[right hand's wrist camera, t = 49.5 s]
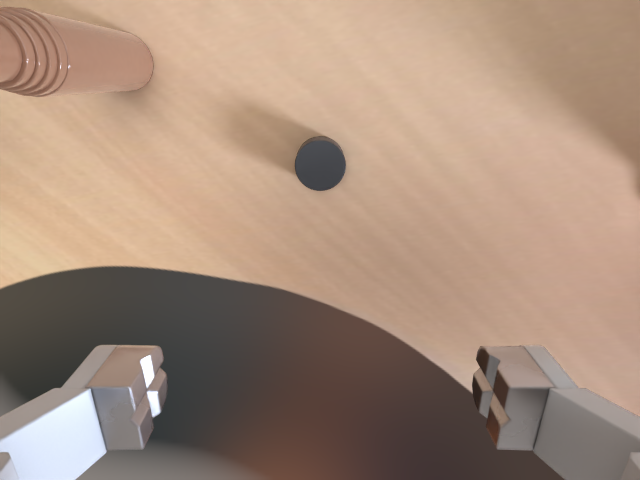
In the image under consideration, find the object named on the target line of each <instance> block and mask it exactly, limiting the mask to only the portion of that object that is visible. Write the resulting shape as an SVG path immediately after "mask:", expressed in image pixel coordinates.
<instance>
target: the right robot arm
mask: <svg viewBox="0 0 640 480" xmlns="http://www.w3.org/2000/svg"><path fill="white" fill-rule="evenodd" d="M163 360H164V358H163V353H162V349H161V348H160V347H159V346H137V345H120V346H119V345H100V346H97V347H95V348H94V350H93V351H92V352H91V353H90V354H89V356H88V357H87V358H86V359H85V360H84V361H83V363H82V364H81V365H80V366H79V367H78V369H77V370H76V371H75V372H74V373H73V374H72V376H71V377H70V378H69V379H68V380H67V382H66V383H65V384H64V385H63V386H62V387H61V388H54V389H52V390H50V391H48V392H46V393H45V394H43V395H41V396H39V397H37V398H35V399H33V400H31V401H29V402H28V403H26V404H24V405H22V406H20V407H18V408H16V409H14V410H12V411H10V412H9V413H7V414H5V415H3V416H1V417H0V480H75V479H76V478H78V477H79V476H80V475H81V474H82V473H83V472H84V471H86V470H87V469H88V468H89V467H90V466H91V465H93V464H94V463H95V462H96V461H97V460H98V459H99V458H101V457H102V456H103V455H104V454H105V453H106V450H134V449H143V448H144V446H145V444H146V442H147V440H148V438H149V436H150V434H151V432H152V430H153V428H154V424H153V418H154V417H155V416H156V415H158V414H159V413H161V411H162V409H163V406H164V404H165V401H166V396H167V391H168V382H167V375H166V373H165V372H164V371H163V370H162V369H161V368H160V366H161V364H162V362H163ZM476 360H477V362H478V364H479V366H480V368H479V369H478V370H477V371H476V372H475V373H474V375H473V383H472V388H473V397H474V401H475V404H476V407H477V409H478V411H479V413H481V414H482V415H483V416H485V417H486V418H487V424H486V428H487V430H488V432H489V434H490V436H491V438H492V440H493V442H494V444H495V446H496V448H497V449H505V450H534V451H533V452H534V453H535V454H536V455H537V456H538V457H540V458H541V459H542V460H543V461H544V462H545V463H546V464H548V465H549V466H550V467H551V468H552V469H553V470H555V471H556V472H557V473H558V474H559V475H560V476H561V477H563V478H564V479H565V480H640V417H639V416H637V415H635V414H633V413H631V412H629V411H628V410H626V409H624V408H622V407H620V406H618V405H616V404H614V403H612V402H611V401H609V400H607V399H605V398H603V397H601V396H599V395H597V394H595V393H594V392H592V391H590V390H588V389H586V388H578V386H577V385H576V384H575V383H574V382H573V380H572V379H571V378H570V377H569V376H568V374H567V373H566V372H565V371H564V370H563V369H562V367H561V366H560V365H559V364H558V363H557V361H556V360H555V359H554V358H553V357H552V356H551V354H550V353H549V352H548V351H547V350H546V348H545V347H543V346H541V345H520V346H480V348H479V350H478V352H477V358H476Z"/></svg>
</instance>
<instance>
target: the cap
mask: <svg viewBox="0 0 640 480" xmlns="http://www.w3.org/2000/svg"><path fill="white" fill-rule="evenodd" d="M345 167H346V164H345V158H344V155H343V152H342V150H341V148H340V146H339V145H338V144H337V143H336V142H335V141H334V140H332V139H330V138H327V137H323V136H318V137H313V138H310V139H309V140H307V141H306V142H304V143H303V144H302V146H301V147H300V149H299V151H298V153H297V157H296V160H295V171H296V174H297V176H298V178H299V180H300V181H301V182H302V183H303V184H304V185H305V186H306V187H308V188H310V189H313V190H317V191H323V190H328V189H331V188H333V187H334V186H336V185H337V184H338V183H339V182H340V181H341V179H342V178H343V175H344V173H345Z"/></svg>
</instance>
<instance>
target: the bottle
mask: <svg viewBox="0 0 640 480" xmlns="http://www.w3.org/2000/svg"><path fill="white" fill-rule="evenodd" d="M152 72H153V60H152V56H151V53H150V51H149V49H148V47H147V46H146V45H145V43H144V42H143V41H142V40H141V39H139V38H138V37H137V36H135V35H133V34H131V33H128V32H124V31H119V30H115V29H111V28H107V27H102V26H98V25H94V24H90V23H85V22H81V21H77V20H73V19H68V18H64V17H60V16H56V15H51V14H47V13H43V12H39V11H34V10H30V9H26V8H14V7H3V8H0V89H1V90H6V91H9V92H12V93H16V94H19V95H24V96H33V97H46V96H61V95H75V94H90V93H104V92H119V91H133V90H138V89H140V88H142V87H143V86H145V85H146V84H147V83H148V81H149V80H150V78H151V76H152Z"/></svg>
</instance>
